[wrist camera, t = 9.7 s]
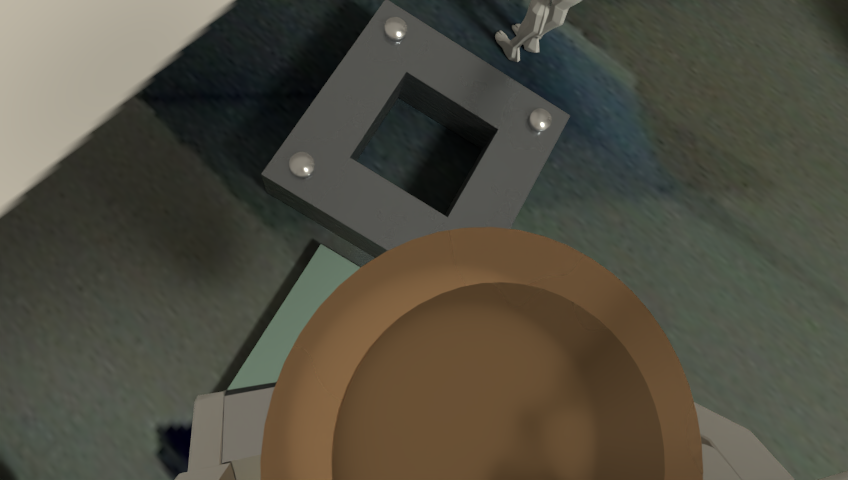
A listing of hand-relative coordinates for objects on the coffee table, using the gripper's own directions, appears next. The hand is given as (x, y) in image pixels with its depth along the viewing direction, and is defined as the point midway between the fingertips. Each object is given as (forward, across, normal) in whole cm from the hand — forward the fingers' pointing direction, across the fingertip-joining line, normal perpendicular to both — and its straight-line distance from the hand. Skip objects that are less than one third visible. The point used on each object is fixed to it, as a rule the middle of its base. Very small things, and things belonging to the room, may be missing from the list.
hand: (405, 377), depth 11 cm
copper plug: (+5, 0, +6) cm, 8 cm away
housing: (+20, -6, +5) cm, 21 cm away
